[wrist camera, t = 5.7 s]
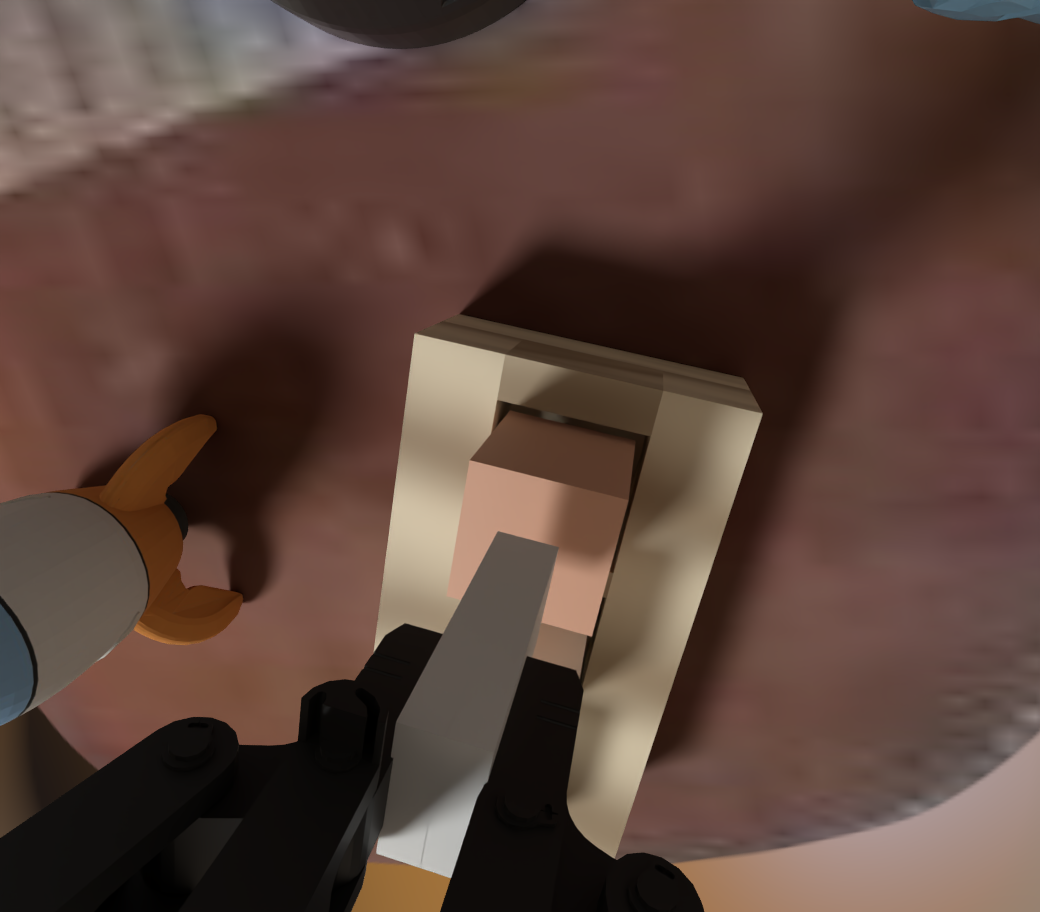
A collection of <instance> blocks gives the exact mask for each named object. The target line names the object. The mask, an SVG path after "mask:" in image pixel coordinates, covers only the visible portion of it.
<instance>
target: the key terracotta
mask: <svg viewBox="0 0 1040 912" xmlns="http://www.w3.org/2000/svg"><path fill="white" fill-rule="evenodd" d="M635 442H636V441H635V440H631V439H627V438H623V437H619V436H615V435H610V434H606V433H602V432H598V431H594V430H590V429H585V428H581V427H577V426H573V425H569V424H565V423H560V422H556V421H552V420H548V419H544V418H540V417H536V416H531V415H527V414H523V413H519V412H515V411H511V410H510V411H509V412H508V414H507V415H506V416H505V417H504V419H503V420H502V421H501V422H500V423H499V425H498V426H497V427H496V428H495V430H494V431H493V432H492V433H491V435H490V436H489V437H488V438H487V439H486V441H485V442H484V443H483V444H482V446H481V447H480V448H479V449H478V451H477V452H476V453H475V454H474V455H473V457H472V458H471V459H470V461H469V467H468V473H467V479H466V485H465V490H464V496H463V502H462V508H461V514H460V520H459V526H458V532H457V537H456V543H455V549H454V555H453V561H452V567H451V573H450V579H449V584H448V590H447V596H448V597H451V598H455V599H459V600H461V599H462V597H463V595H464V594H465V592H466V590H467V588H468V586H469V584H470V582H471V580H472V579H473V577H474V575H475V573H476V571H477V569H478V567H479V565H480V564H481V562H482V560H483V558H484V556H485V554H486V552H487V550H488V549H489V547H490V545H491V543H492V541H493V539H494V537H495V535H496V534H497V532H498V531H500V532H503V533H507V534H511V535H515V536H519V537H522V538H526V539H530V540H534V541H538V542H541V543H545V544H549V545H553V546H557V547H559V549H558V553H557V558H556V562H555V566H554V570H553V575H552V579H551V583H550V588H549V592H548V596H547V600H546V605H545V609H544V613H543V617H542V622H541V623H545V624H548V625H552V626H555V627H559V628H563V629H566V630H570V631H573V632H577V633H581V634H584V635H588V636H591V637H592V634H593V630H594V627H595V623H596V619H597V615H598V612H599V608H600V604H601V601H602V597H603V593H604V590H605V586H606V582H607V578H608V575H609V571H610V567H611V564H612V560H613V556H614V552H615V549H616V545H617V541H618V538H619V534H620V530H621V527H622V523H623V519H624V515H625V512H626V508H627V504H628V501H629V493H630V484H631V476H632V467H633V459H634V450H635Z"/></svg>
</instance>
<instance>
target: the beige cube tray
mask: <svg viewBox="0 0 1040 912" xmlns="http://www.w3.org/2000/svg"><path fill="white" fill-rule="evenodd" d="M510 410H511V411H515V412H519V413H523V414H527V415H531V416H536V417H540V418H544V419H548V420H552V421H556V422H560V423H565V424H569V425H573V426H577V427H581V428H585V429H590V430H594V431H598V432H602V433H606V434H610V435H615V436H619V437H623V438H627V439H631V440H635V441H636V442H635V450H634V459H633V467H632V476H631V484H630V493H629V501H628V504H627V508H626V512H625V515H624V519H623V523H622V527H621V530H620V534H619V538H618V541H617V545H616V549H615V552H614V556H613V560H612V564H611V567H610V571H609V575H608V578H607V582H606V586H605V590H604V593H603V597H602V601H601V604H600V608H599V612H598V615H597V619H596V623H595V627H594V630H593V634H592V637H591V636H588V635H587V640H586V645H585V651H584V657H583V662H582V668H581V673H580V682H581V684H582V687H583V690H584V692H583V698H582V704H581V710H580V716H579V722H578V728H577V734H576V740H575V746H574V752H573V758H572V764H571V770H570V777H569V783H568V789H567V806H568V810H569V814H570V816H571V818H572V820H573V822H574V824H575V826H576V827H577V828H578V830H579V831H580V832H581V833H582V834H583V836H584V837H585V838H586V839H588V840H589V841H590V842H591V843H592V844H594V845H595V846H596V847H597V848H599V849H600V850H602V851H604V852H605V853H607V854H608V855H610V856H611V857H613V858H615V855H616V852H617V849H618V846H619V843H620V840H621V837H622V834H623V831H624V828H625V825H626V822H627V819H628V816H629V813H630V810H631V807H632V804H633V801H634V798H635V795H636V792H637V789H638V786H639V783H640V780H641V777H642V774H643V771H644V768H645V765H646V762H647V759H648V756H649V753H650V750H651V747H652V744H653V741H654V738H655V735H656V732H657V729H658V726H659V723H660V720H661V717H662V714H663V711H664V708H665V705H666V702H667V699H668V696H669V693H670V690H671V687H672V684H673V681H674V678H675V675H676V672H677V669H678V666H679V663H680V661H681V658H682V655H683V652H684V649H685V646H686V643H687V640H688V637H689V634H690V631H691V628H692V625H693V622H694V619H695V616H696V613H697V610H698V607H699V604H700V601H701V598H702V595H703V592H704V589H705V586H706V583H707V580H708V577H709V574H710V571H711V568H712V565H713V562H714V559H715V556H716V553H717V550H718V547H719V544H720V541H721V538H722V535H723V532H724V529H725V526H726V523H727V520H728V517H729V514H730V511H731V508H732V505H733V502H734V499H735V496H736V493H737V490H738V487H739V484H740V481H741V478H742V475H743V472H744V469H745V466H746V463H747V460H748V457H749V454H750V451H751V448H752V445H753V442H754V439H755V436H756V433H757V430H758V427H759V424H760V421H761V418H762V415H763V413H762V411H761V409H760V408H759V406H758V404H757V402H756V400H755V398H754V396H753V395H752V393H751V391H750V389H749V387H748V385H747V383H746V382H745V380H744V378H742V377H737V376H733V375H728V374H724V373H719V372H715V371H710V370H706V369H702V368H697V367H693V366H688V365H684V364H679V363H675V362H670V361H666V360H661V359H657V358H652V357H648V356H644V355H639V354H635V353H630V352H626V351H621V350H617V349H612V348H608V347H603V346H599V345H595V344H590V343H586V342H581V341H577V340H572V339H568V338H563V337H559V336H554V335H550V334H545V333H541V332H537V331H532V330H528V329H523V328H519V327H514V326H510V325H505V324H501V323H496V322H492V321H487V320H483V319H479V318H474V317H470V316H465V315H461V314H458V315H456V316H453V317H451V318H449V319H447V320H444V321H442V322H440V323H438V324H435V325H433V326H431V327H429V328H426V329H424V330H422V331H420V332H417V333H415V335H414V343H413V351H412V359H411V366H410V374H409V382H408V390H407V397H406V405H405V413H404V421H403V429H402V436H401V444H400V452H399V460H398V467H397V475H396V483H395V491H394V499H393V506H392V514H391V522H390V530H389V538H388V545H387V553H386V561H385V569H384V576H383V584H382V592H381V600H380V608H379V615H378V623H377V631H376V639H375V646H374V651H375V650H376V648H377V647H378V645H379V644H380V642H381V641H382V639H383V638H384V636H385V635H386V634H388V633H389V632H391V631H393V630H394V629H396V628H398V627H399V626H401V625H403V624H404V623H407V624H410V625H414V626H417V627H421V628H424V629H428V630H431V631H435V632H438V633H442V634H443V633H444V631H445V629H446V627H447V625H448V624H449V622H450V620H451V618H452V616H453V614H454V612H455V610H456V609H457V607H458V605H459V603H460V601H461V600H459V599H455V598H451V597H448V596H447V590H448V584H449V579H450V573H451V567H452V561H453V555H454V549H455V543H456V537H457V532H458V526H459V520H460V514H461V508H462V502H463V496H464V490H465V485H466V479H467V473H468V467H469V461H470V459H471V458H472V457H473V455H474V454H475V453H476V452H477V451H478V449H479V448H480V447H481V446H482V444H483V443H484V442H485V441H486V439H487V438H488V437H489V436H490V435H491V433H492V432H493V431H494V430H495V428H496V427H497V426H498V425H499V423H500V422H501V421H502V420H503V419H504V417H505V416H506V415H507V414H508V412H509V411H510Z"/></svg>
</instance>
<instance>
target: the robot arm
mask: <svg viewBox="0 0 1040 912" xmlns="http://www.w3.org/2000/svg"><path fill="white" fill-rule="evenodd" d="M271 1H273V2H274V3H276V4H277V5H279V6H281V7H282V8H284V9H285V10H287V11H289V12H291V13H292V14H294V15H296V16H297V17H299V18H301V19H303V20H304V21H306V22H308V23H310V24H311V25H313V26H315V27H317V28H319V29H321V30H323V31H325V32H327V33H329V34H332V35H334V36H337V37H339V38H342V39H345V40H348V41H351V42H354V43H358V44H363V45H367V46H372V47H380V48H392V49H408V48H421V47H428V46H434V45H438V44H442V43H447V42H450V41H453V40H456V39H459V38H462V37H465V36H467V35H470V34H472V33H474V32H477V31H479V30H481V29H483V28H485V27H487V26H489V25H490V24H492V23H494V22H496V21H497V20H499V19H500V18H502V17H504V16H505V15H507V14H508V13H510V12H511V11H512V10H514V9H515V8H516V7H518V6H519V5H520V4H522V3H523V2H524V1H525V0H271ZM912 1H913V2H914V4H915V5H916V6H918V7H921V8H923V9H925V10H927V11H930V12H932V13H934V14H938V15H942V16H945V17H949V18H953V19H956V20H976V21H1000V20H1006V19H1011V18H1017V17H1018V18H1021V19H1024V20H1028V21H1031V22H1034V23H1037V24H1040V0H912ZM558 549H559V547H557V546H553V545H549V544H545V543H541V542H538V541H534V540H530V539H526V538H522V537H519V536H515V535H511V534H507V533H503V532H500V531H498V532H497V534H496V535H495V537H494V539H493V541H492V543H491V545H490V547H489V549H488V550H487V552H486V554H485V556H484V558H483V560H482V562H481V564H480V565H479V567H478V569H477V571H476V573H475V575H474V577H473V579H472V580H471V582H470V584H469V586H468V588H467V590H466V592H465V594H464V595H463V597H462V599H461V601H460V603H459V605H458V607H457V609H456V610H455V612H454V614H453V616H452V618H451V620H450V622H449V624H448V625H447V627H446V629H445V631H444V633H443V634H442V633H438V632H435V631H431V630H428V629H424V628H421V627H417V626H414V625H410V624H407V623H404V624H403V625H401V626H399V627H398V628H396V629H394V630H393V631H391V632H389V633H388V634H386V635H385V636H384V638H383V639H382V641H381V642H380V644H379V645H378V647H377V648H376V650H375V651H374V654H373V655H372V656H371V657H370V659H369V660H368V662H367V663H366V664H365V667H364V669H362V670H361V672H360V673H359V675H358V676H357V678H356V679H355V681H353V680H346V679H344V680H336V681H328V682H326V683H323V684H321V685H318V686H316V687H314V688H312V689H311V690H310V691H309V692H308V693H306V694H305V695H304V696H303V697H302V699H301V711H300V722H299V734H298V741H297V742H294V743H290V744H285V745H273V746H264V745H239V743H238V739H237V735H236V732H235V731H234V730H233V729H232V728H231V727H230V726H229V725H228V724H227V723H225V722H222V721H219V720H217V719H214V718H209V717H191V718H187V719H182V720H178V721H174V722H172V723H170V724H168V725H166V726H164V727H162V728H160V729H158V730H157V731H155V732H154V733H152V734H151V735H149V736H148V737H146V738H145V739H144V740H142V741H141V742H139V743H138V744H136V745H135V746H133V747H132V748H130V749H129V750H128V751H126V752H125V753H123V754H122V755H120V756H119V757H117V758H116V759H115V760H113V761H112V762H110V763H109V764H107V765H106V766H104V767H103V768H101V769H100V770H99V771H97V772H96V773H94V774H93V775H91V776H90V777H88V778H87V779H85V780H84V781H83V782H81V783H80V784H78V785H77V786H75V787H74V788H73V789H71V790H70V791H68V792H67V793H65V794H64V795H62V796H61V797H59V798H58V799H56V800H55V801H54V802H52V803H51V804H49V805H48V806H46V807H45V808H44V809H42V810H41V811H39V812H38V813H36V814H35V815H33V816H32V817H30V818H29V819H27V820H26V821H25V822H23V823H22V824H20V825H19V826H17V827H16V828H14V829H13V830H12V831H10V832H9V833H7V834H6V835H4V836H3V837H1V838H0V912H351V911H352V908H353V906H354V904H355V902H356V899H357V897H358V895H359V892H360V890H361V888H362V885H363V881H364V876H365V872H366V865H367V860H368V857H369V855H370V853H371V851H372V849H373V847H374V844H375V842H376V840H377V838H378V836H379V838H378V845H377V852H376V853H377V854H380V855H383V856H386V857H389V858H392V859H395V860H398V861H401V862H404V863H407V864H410V865H413V866H416V867H419V868H422V869H425V870H428V871H431V872H434V873H437V874H440V875H443V876H446V877H449V878H451V880H450V883H449V886H448V889H447V892H446V895H445V898H444V902H443V904H442V907H441V911H440V912H704V909H703V905H702V903H701V900H700V898H699V896H698V894H697V892H696V890H695V888H694V885H693V884H692V883H691V882H690V881H689V879H688V878H687V877H686V876H685V875H684V874H683V873H682V871H681V870H680V869H679V868H677V867H676V866H674V865H673V864H671V863H669V862H668V861H666V860H665V859H663V858H662V857H658V856H654V855H651V854H647V853H633V854H626V855H625V856H623V857H622V858H620V859H618V860H616V859H614V858H613V857H611V856H610V855H608V854H607V853H605V852H604V851H602V850H600V849H599V848H597V847H596V846H595V845H594V844H592V843H591V842H590V841H589V840H588V839H586V838H585V837H584V836H583V834H582V833H581V832H580V831H579V830H578V828H577V827H576V826H575V824H574V822H573V820H572V818H571V816H570V814H569V810H568V806H567V789H568V783H569V777H570V770H571V764H572V758H573V752H574V746H575V740H576V734H577V728H578V722H579V716H580V710H581V704H582V698H583V692H584V690H583V687H582V684H581V682H580V679H579V676H578V674H577V671H576V670H574V669H571V668H567V667H564V666H560V665H557V664H553V663H550V662H546V661H543V660H539V659H536V658H532V656H533V653H534V649H535V646H536V643H537V639H538V634H539V630H540V626H541V622H542V617H543V613H544V609H545V605H546V600H547V596H548V592H549V588H550V583H551V579H552V575H553V570H554V566H555V562H556V558H557V553H558Z"/></svg>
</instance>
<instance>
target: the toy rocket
mask: <svg viewBox="0 0 1040 912" xmlns="http://www.w3.org/2000/svg"><path fill="white" fill-rule="evenodd" d="M216 430H217V425H216V421H215V419H214V418H213V417H212V416H209V415H202V414H199V415H195V416H192V417H188V418H185V419H182V420H180V421H178V422H176V423H174V424H171V425H170V426H168V427H166V428H164V429H162V430H161V431H159V432H158V433H156V434H155V435H153V436H152V437H150V438H149V439H148V440H147V441H146V442H144V443H143V444H142V445H141V446H140V447H139V448H138V449H137V450H136V451H135V452H134V453H133V454H132V455H131V456H130V457H129V458H128V459H127V460H126V461H125V462H124V463H123V464H122V466H121V467H120V468H119V469H118V470H117V471H116V473H115V474H114V475H113V477H112V478H111V480H110V481H109V482H108V484H107V485H104V486H96V487H87V488H77V489H68V490H60V491H52V492H47V493H41V494H35V495H27V496H24V497H20V498H17V499H14V500H10V501H7V502H3V503H0V726H1V725H2V724H5V723H7V722H9V721H11V720H12V719H14V718H17V717H19V716H21V715H22V714H24V713H26V712H28V711H29V710H31V709H33V708H34V707H36V706H38V705H40V704H41V703H43V702H44V701H46V700H47V699H49V698H50V697H52V696H53V695H55V694H56V693H57V692H59V691H60V690H62V689H63V688H65V687H66V686H67V685H69V684H70V683H71V682H72V681H73V680H75V679H76V678H77V677H78V676H80V675H81V674H82V673H83V672H85V671H86V670H87V669H88V668H89V667H91V666H92V665H93V664H94V663H95V662H96V661H98V660H100V659H102V658H104V657H105V656H106V655H107V654H108V653H109V652H110V651H111V650H113V649H114V648H115V647H116V646H117V645H118V644H119V643H120V642H121V641H122V640H123V639H124V638H125V637H126V636H127V635H128V634H129V633H130V632H131V631H132V630H133V629H134V630H135V631H137V632H138V633H140V634H142V635H144V636H146V637H148V638H150V639H152V640H156V641H159V642H163V643H166V644H177V645H188V644H194V643H200V642H202V641H205V640H207V639H210V638H212V637H214V636H216V635H217V634H218V633H220V632H221V631H223V630H224V629H225V628H226V627H227V626H228V625H229V624H230V623H231V621H232V620H233V619H234V618H235V617H236V616H237V614H238V612H239V610H240V607H241V605H242V602H243V596H242V594H240V593H238V592H234V591H229V590H223V589H218V588H213V587H208V586H203V585H200V586H192V587H189V588H187V589H186V588H185V586H184V585H183V583H182V581H181V574H180V571H179V570H178V569H177V566H178V564H179V561H180V559H181V555H182V552H183V540H184V539H185V537H186V535H187V532H188V519H187V516H186V513H185V511H184V509H183V508H182V506H181V505H180V504H179V502H178V501H177V500H176V499H174V498H173V497H172V496H170V495H169V494H167V493H166V491H167V488H168V487H169V486H170V485H171V484H172V483H174V482H175V481H176V480H177V479H178V478H179V477H180V476H181V474H182V473H183V472H184V470H185V469H186V468H187V466H188V465H189V464H190V462H191V461H192V460H193V458H194V457H195V456H196V455H197V453H198V452H199V451H200V449H201V448H202V447H203V446H204V444H205V443H206V442H207V441H208V439H209V438H210V437H211V436H212V434H213V433H214V432H215V431H216Z"/></svg>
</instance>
